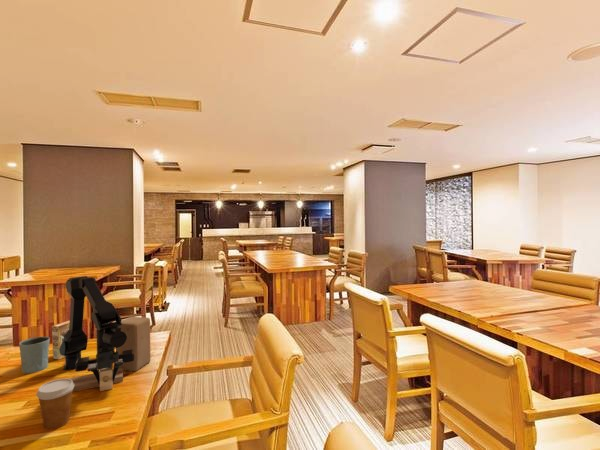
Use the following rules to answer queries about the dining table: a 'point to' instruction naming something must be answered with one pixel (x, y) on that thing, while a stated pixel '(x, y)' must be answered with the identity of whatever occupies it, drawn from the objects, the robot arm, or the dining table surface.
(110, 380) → the block
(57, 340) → the candy box
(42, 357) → the grey embossed cup
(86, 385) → the walnut board
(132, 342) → the wooden block
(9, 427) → the dining table surface
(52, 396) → the disposable coffee cup
